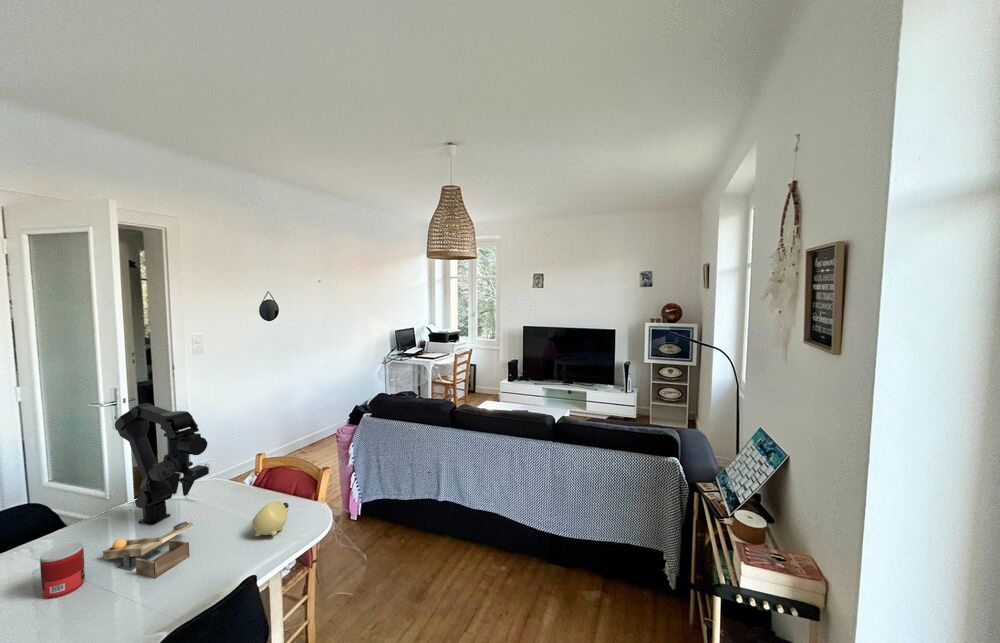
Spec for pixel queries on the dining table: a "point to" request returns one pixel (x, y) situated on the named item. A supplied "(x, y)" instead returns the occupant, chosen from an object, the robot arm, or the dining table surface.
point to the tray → (163, 560)
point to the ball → (119, 544)
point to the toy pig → (270, 518)
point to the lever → (145, 543)
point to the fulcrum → (130, 562)
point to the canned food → (62, 569)
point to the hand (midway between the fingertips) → (180, 494)
